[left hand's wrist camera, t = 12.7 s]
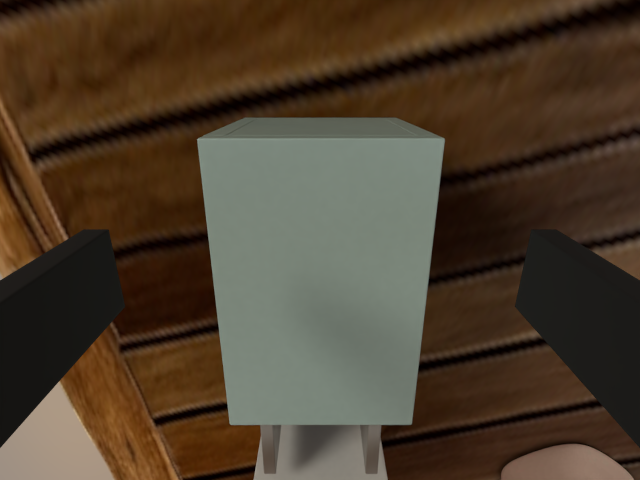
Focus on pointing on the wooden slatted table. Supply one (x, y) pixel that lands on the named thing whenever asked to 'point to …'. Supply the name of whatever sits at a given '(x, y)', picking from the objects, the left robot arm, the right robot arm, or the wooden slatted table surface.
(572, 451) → the anatomical model
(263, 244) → the cabinet
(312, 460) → the drawer
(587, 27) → the wooden slatted table surface
